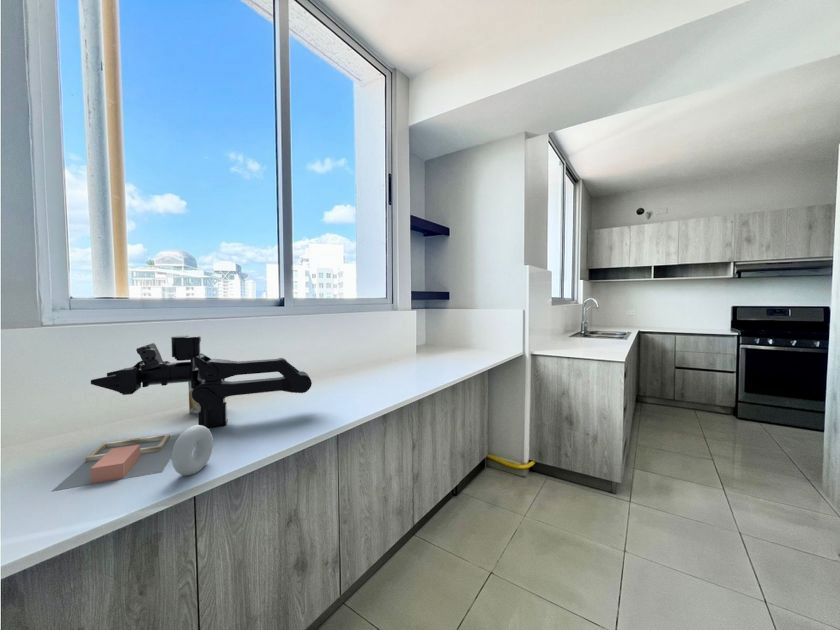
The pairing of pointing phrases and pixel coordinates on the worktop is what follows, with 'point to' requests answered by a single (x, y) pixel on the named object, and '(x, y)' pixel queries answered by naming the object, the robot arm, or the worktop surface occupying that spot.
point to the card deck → (115, 463)
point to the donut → (184, 447)
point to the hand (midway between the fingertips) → (99, 378)
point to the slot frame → (95, 456)
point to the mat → (143, 466)
